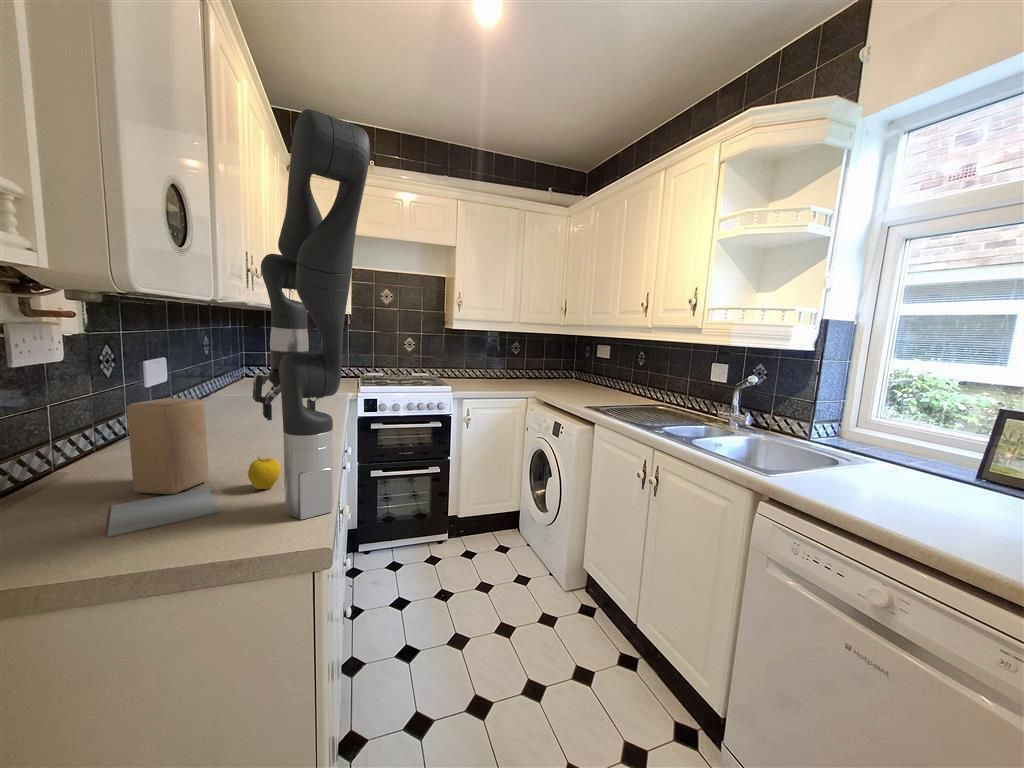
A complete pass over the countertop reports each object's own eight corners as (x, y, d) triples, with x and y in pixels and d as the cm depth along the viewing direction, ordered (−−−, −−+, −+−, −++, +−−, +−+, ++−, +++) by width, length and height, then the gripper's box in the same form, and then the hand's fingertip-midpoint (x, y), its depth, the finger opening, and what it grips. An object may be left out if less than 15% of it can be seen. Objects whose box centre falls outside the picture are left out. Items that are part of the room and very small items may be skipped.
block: (211, 480, 98) (206, 398, 96) (173, 496, 88) (166, 405, 86) (173, 478, 99) (167, 397, 97) (131, 493, 89) (123, 403, 87)
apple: (242, 492, 93) (240, 459, 92) (262, 482, 99) (261, 450, 98) (267, 495, 92) (266, 461, 91) (286, 484, 98) (285, 453, 97)
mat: (218, 512, 83) (218, 511, 83) (107, 537, 72) (107, 534, 72) (208, 489, 94) (208, 487, 94) (111, 507, 83) (111, 505, 83)
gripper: (256, 350, 84) (257, 425, 86) (328, 350, 93) (327, 418, 96) (249, 345, 89) (250, 416, 92) (318, 346, 99) (317, 410, 101)
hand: (290, 417), depth 94 cm, fingers open, 8 cm apart
